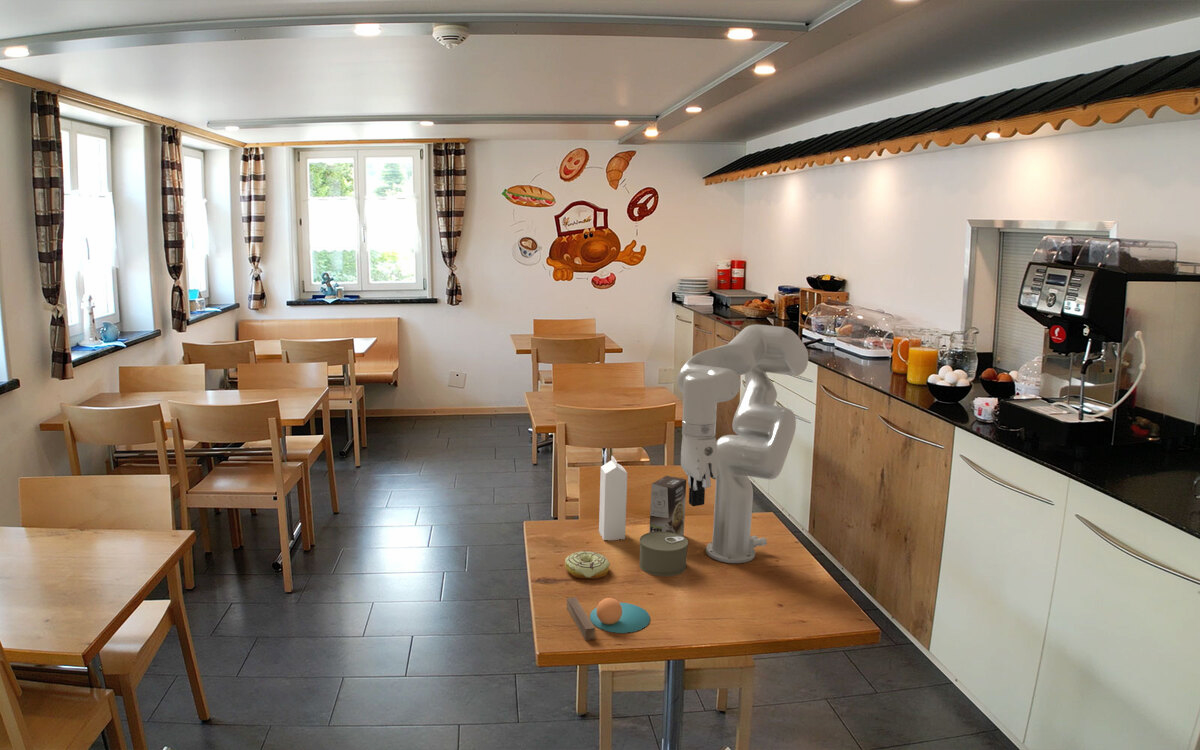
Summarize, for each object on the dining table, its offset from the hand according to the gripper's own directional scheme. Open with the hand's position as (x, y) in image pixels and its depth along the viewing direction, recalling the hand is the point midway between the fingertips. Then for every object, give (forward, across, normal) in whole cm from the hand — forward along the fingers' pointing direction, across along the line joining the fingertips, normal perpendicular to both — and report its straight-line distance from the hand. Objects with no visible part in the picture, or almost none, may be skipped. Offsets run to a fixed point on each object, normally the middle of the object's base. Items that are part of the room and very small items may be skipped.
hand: (696, 504), depth 186 cm
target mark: (+20, -8, +22) cm, 31 cm away
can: (+21, +12, +2) cm, 25 cm away
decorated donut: (+21, +16, +21) cm, 34 cm away
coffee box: (+22, +28, -6) cm, 36 cm away
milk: (+22, +34, +7) cm, 41 cm away
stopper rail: (+19, -8, +31) cm, 38 cm away
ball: (+17, -10, +25) cm, 32 cm away
